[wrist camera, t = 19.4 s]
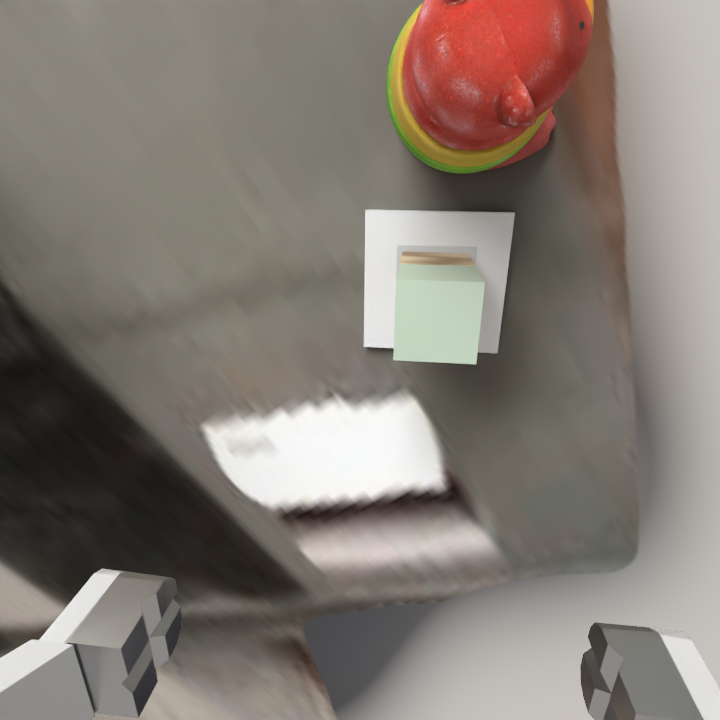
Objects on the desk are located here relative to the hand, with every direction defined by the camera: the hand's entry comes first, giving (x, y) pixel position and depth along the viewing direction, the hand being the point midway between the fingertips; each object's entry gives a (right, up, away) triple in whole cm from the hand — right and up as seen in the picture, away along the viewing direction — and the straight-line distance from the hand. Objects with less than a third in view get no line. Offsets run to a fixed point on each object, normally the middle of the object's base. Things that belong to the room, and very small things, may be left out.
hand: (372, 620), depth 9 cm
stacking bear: (+7, +23, +24) cm, 34 cm away
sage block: (+5, +9, +23) cm, 25 cm away
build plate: (+6, +11, +28) cm, 31 cm away
